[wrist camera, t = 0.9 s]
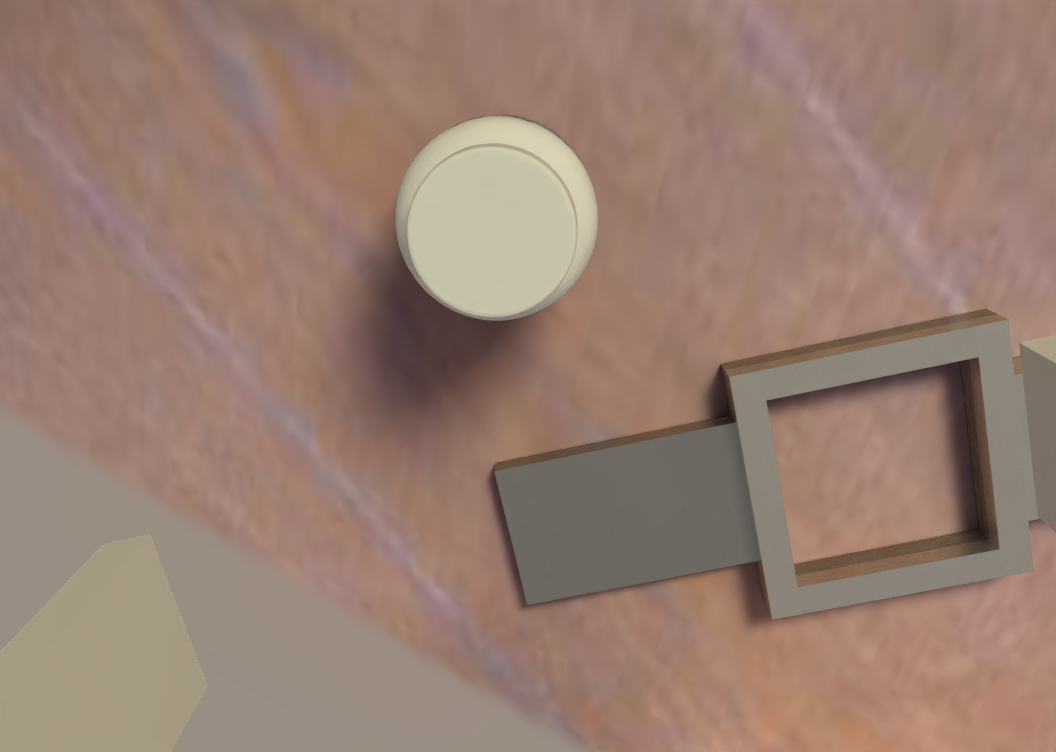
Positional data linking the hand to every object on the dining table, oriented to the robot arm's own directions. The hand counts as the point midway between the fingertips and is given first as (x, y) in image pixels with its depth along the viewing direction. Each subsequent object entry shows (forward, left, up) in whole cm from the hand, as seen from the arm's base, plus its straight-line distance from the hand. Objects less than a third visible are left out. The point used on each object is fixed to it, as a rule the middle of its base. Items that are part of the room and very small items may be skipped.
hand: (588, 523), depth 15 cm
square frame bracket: (+8, +9, -18) cm, 21 cm away
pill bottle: (-3, -1, -18) cm, 19 cm away
